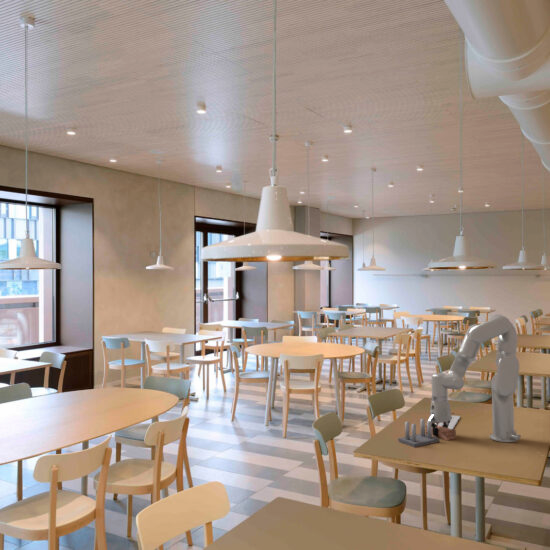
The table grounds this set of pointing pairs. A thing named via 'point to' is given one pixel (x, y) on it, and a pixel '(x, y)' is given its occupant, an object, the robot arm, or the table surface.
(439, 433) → the pink elongated block
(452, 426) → the baseboard
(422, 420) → the peg stand
